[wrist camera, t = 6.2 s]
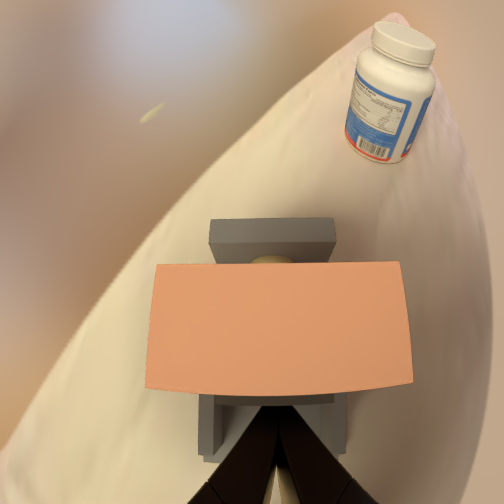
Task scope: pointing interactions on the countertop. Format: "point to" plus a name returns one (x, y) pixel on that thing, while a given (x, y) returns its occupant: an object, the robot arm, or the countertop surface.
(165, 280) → the orange tall block
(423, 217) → the countertop surface
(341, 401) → the switch base
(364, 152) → the pill bottle
